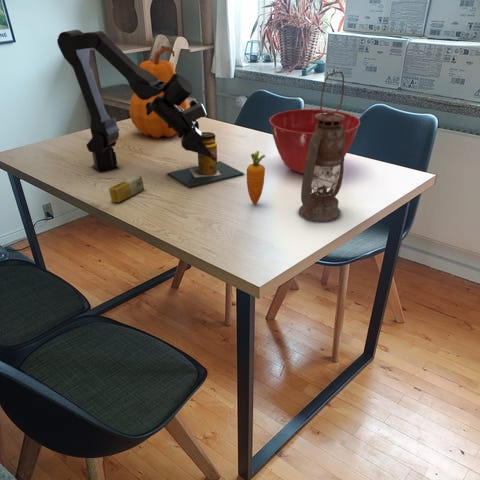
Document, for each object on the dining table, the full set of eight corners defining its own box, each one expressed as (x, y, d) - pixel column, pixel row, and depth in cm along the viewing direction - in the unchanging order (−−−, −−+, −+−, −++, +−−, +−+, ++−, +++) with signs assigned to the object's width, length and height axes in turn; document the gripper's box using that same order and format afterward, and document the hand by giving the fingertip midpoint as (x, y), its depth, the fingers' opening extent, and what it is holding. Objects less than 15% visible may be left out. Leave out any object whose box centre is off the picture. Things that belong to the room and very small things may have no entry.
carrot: (253, 199, 141) (254, 147, 132) (267, 204, 139) (269, 150, 130) (242, 205, 138) (243, 151, 129) (256, 209, 136) (257, 155, 127)
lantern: (284, 216, 132) (294, 73, 111) (321, 199, 142) (336, 64, 121) (317, 229, 126) (333, 80, 105) (353, 210, 135) (374, 70, 115)
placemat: (189, 188, 148) (189, 186, 148) (167, 174, 157) (167, 172, 157) (243, 174, 157) (243, 173, 157) (219, 162, 166) (219, 161, 166)
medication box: (137, 188, 148) (135, 175, 145) (144, 189, 146) (142, 176, 144) (111, 201, 139) (108, 188, 137) (118, 202, 138) (115, 188, 136)
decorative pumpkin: (192, 124, 204) (188, 42, 186) (191, 141, 185) (186, 51, 167) (135, 125, 203) (125, 42, 185) (128, 142, 184) (116, 52, 166)
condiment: (221, 175, 155) (220, 136, 148) (195, 178, 153) (193, 138, 146) (214, 167, 161) (213, 129, 154) (189, 170, 159) (187, 132, 151)
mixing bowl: (259, 179, 154) (261, 128, 145) (275, 151, 177) (278, 105, 167) (350, 187, 149) (358, 135, 140) (355, 157, 171) (362, 111, 162)
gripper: (191, 100, 135) (231, 140, 143) (187, 86, 150) (223, 122, 158) (164, 131, 139) (205, 168, 146) (163, 114, 153) (200, 148, 161)
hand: (209, 150), depth 153 cm, fingers open, 9 cm apart
